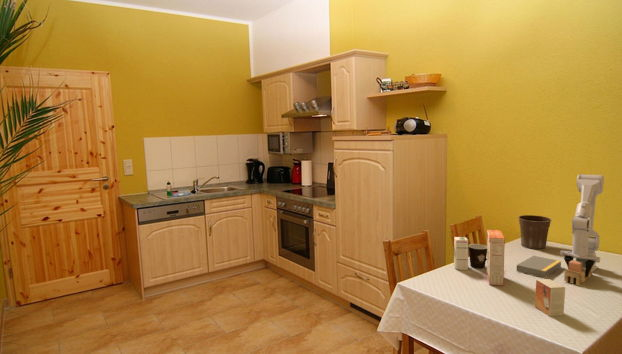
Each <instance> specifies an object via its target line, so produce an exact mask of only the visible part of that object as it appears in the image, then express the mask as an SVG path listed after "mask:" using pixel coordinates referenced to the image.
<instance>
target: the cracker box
mask: <svg viewBox="0 0 622 354" xmlns="http://www.w3.org/2000/svg"><path fill="white" fill-rule="evenodd" d="M486 235H487V236H486V237H487V238H486V239H487V240H486V241H487V242H486V246H487V256H486V259H487V260H486V276H487V280H488V284H489V286H500V287H503V286H504V285H505V283H504V282H505V247H506V246H505V244H506V243H505V242H506V241H505V239H506V238H505V237H504V235H503V233H502V231H501V230H497V229H487V233H486ZM504 287H505V286H504Z"/></svg>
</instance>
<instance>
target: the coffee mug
mask: <svg viewBox="0 0 622 354" xmlns="http://www.w3.org/2000/svg"><path fill="white" fill-rule="evenodd" d="M468 257H469V264H470V267H471V268H472V269H476V270H483V269H485V268H486V264H487V245H484V244H481V243H480V244H479V243H471V244H468Z"/></svg>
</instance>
